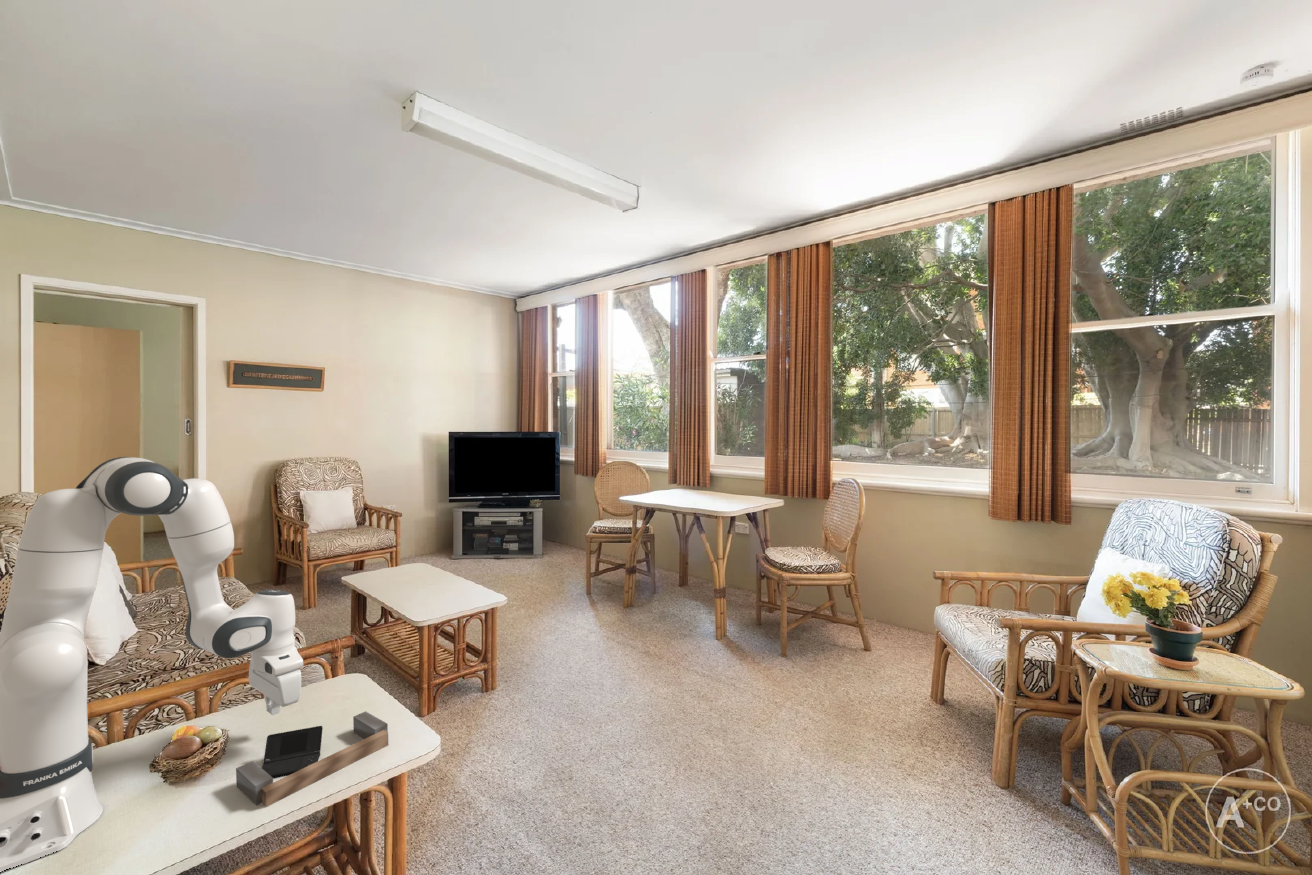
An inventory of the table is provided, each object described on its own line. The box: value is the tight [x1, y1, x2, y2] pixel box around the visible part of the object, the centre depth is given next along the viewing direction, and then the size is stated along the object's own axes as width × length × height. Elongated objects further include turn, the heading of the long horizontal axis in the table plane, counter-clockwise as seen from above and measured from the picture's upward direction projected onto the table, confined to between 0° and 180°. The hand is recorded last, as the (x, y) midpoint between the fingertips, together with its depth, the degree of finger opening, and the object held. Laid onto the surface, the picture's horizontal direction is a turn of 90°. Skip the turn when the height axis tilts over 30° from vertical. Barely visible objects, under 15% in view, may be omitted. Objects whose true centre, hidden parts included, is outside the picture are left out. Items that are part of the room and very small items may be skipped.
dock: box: [235, 711, 389, 807], centre depth 122 cm, size 27×12×4 cm, turn 146°
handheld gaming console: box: [261, 725, 323, 779], centre depth 122 cm, size 12×7×10 cm
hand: (273, 712), depth 134 cm, fingers closed
